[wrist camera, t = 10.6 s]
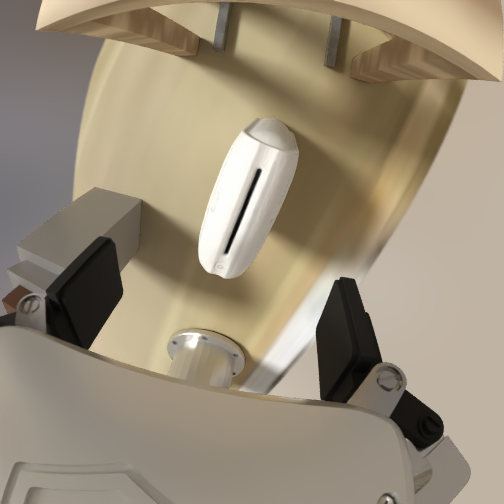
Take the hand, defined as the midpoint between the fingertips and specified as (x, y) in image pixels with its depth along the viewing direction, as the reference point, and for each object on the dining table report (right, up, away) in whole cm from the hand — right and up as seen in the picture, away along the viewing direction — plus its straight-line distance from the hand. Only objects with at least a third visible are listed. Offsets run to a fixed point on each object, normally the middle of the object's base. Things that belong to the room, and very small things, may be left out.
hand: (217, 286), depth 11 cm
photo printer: (+2, +10, +15) cm, 18 cm away
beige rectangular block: (-15, +6, +19) cm, 25 cm away
